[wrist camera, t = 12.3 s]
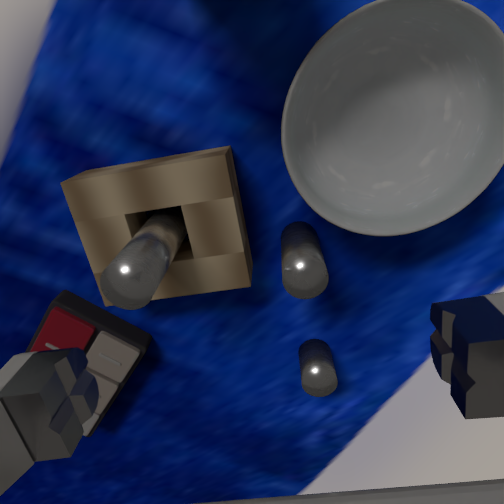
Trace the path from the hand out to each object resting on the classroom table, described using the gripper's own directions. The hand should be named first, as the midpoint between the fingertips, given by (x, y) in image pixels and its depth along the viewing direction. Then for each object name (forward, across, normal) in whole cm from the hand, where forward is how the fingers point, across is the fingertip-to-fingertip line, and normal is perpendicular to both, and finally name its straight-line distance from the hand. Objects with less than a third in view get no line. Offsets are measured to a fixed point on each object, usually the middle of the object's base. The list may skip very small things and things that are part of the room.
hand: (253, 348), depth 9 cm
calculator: (+30, +25, +20) cm, 44 cm away
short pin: (+29, -2, +23) cm, 37 cm away
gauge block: (+29, +10, +5) cm, 31 cm away
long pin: (+29, +10, +5) cm, 31 cm away
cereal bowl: (+29, -10, -1) cm, 31 cm away
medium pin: (+29, -2, +9) cm, 30 cm away
